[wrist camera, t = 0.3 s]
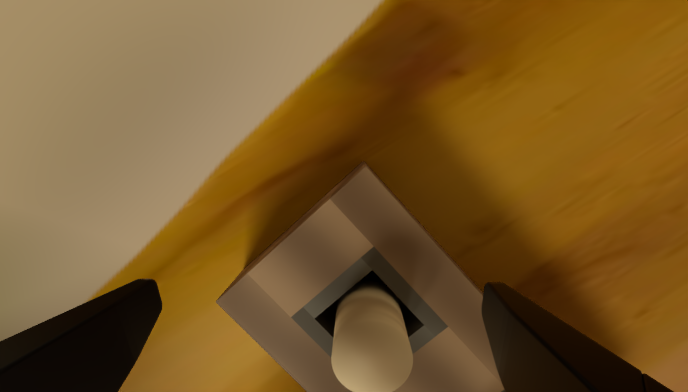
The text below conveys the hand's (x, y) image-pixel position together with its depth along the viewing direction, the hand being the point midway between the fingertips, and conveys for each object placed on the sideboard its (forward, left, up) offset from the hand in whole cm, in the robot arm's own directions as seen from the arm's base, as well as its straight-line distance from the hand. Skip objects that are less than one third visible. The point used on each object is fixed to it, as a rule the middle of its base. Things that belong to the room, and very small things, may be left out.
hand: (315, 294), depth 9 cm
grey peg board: (-3, -12, -15) cm, 19 cm away
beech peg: (-3, -6, -11) cm, 13 cm away
